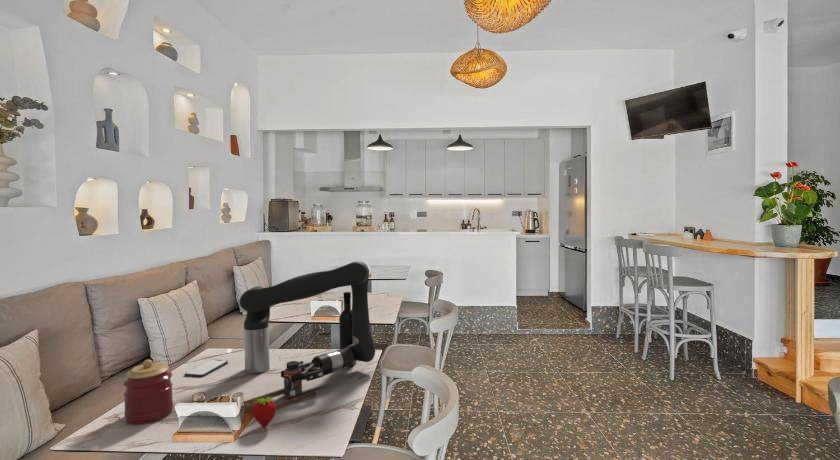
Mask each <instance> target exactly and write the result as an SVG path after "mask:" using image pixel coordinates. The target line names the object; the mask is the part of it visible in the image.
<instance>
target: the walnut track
mask: <svg viewBox="0 0 840 460" xmlns="http://www.w3.org/2000/svg"><path fill="white" fill-rule="evenodd" d="M281 394H284V387H283V388H280V389H277V390H274V391H271V392H267V393H265V394H263V395H259V396H255V397H252V398H250V399H247V400H245V401H242V402H243V403H244V406H243V408H245V409H247V410H248V411H250V412H251V410H252V406H253V404H254V403H255V402H257V400H256V399H261V398H264V399H265V400H266V398H268V397H271V398H273V397H275V396H278V395H281ZM265 395H266V397H265ZM315 396H317V391H316V390H312V391H310V392H306V393H303V394H301V395H300V396H298V397H295V398H289V399H288V400H284V401H282V402H280V403H277V404H276V403H275V404H276V408H277V409H276V411H277V410H279V409H282V408H284V407H288V406H291V405H292V404H296V403H298V402H301V401H303V400H306V399H309V398H312V397H315Z"/></svg>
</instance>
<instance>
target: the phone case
mask: <svg viewBox="0 0 840 460" xmlns="http://www.w3.org/2000/svg"><path fill="white" fill-rule="evenodd" d="M226 365H229V362H228V360H225V359H215V358H214V359H213V358H212V359H209V360H207V361H205V362H204V363H201V364H200V365H197V366H195V367H194V368H192V369H191V370H188V371H185V373H184V377H189V378H190V377H191V378H203V377H204V378H205V377H206V376H208V375H210V374H212V373H214V372H215V371H217V370H219V369H220V368H223V367H224V366H226Z"/></svg>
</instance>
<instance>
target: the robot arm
mask: <svg viewBox="0 0 840 460" xmlns="http://www.w3.org/2000/svg"><path fill="white" fill-rule="evenodd" d="M369 276H370V269H369V266H368V265H367V264H366V263H365V262H364V261H363V262H362V261H360V260H359V261H358V260H356V261H352V262H349V263H347V264H345V265H342V266H340V267H337V268H335V269H330V270H323V271H317V272H311V273H306V274H303V275H299V276H298V275H297V276H296V277H292V278H289V279H287V280H285V281H283V282H279V283H278V284H274V285H272V286H271V285H270V286H267V287H263V286H253V287H251V288H249V289H247V290H246V291H244V293H242V294H241V296H240V298H239V306H240V308H241V309H242V310H244V311H246V317H245V319H244V321H243V337H244V339H243V341H244V342H243V343H244V348H243V349H244V370H245V371H244V372H245V373H247V374H259V373H260V374H261V373H264V372H266V371H268V370H269V369H270V334H269V333H270V331H269V329H270V328H269V323H270V315H271V307H272V306H276V305H279V304H284V303H289V302H295V301H299V300H304V299H308V298H312V297H316V296H318V295H322V294H324V293H327V292H328V291H330V290H334V289H338V288H344V287H348V286H350V287H351V298H352V300H351V301H352V302H351V310H352V333H353V336H354V337H356V340H357V341H358V342H356V343H354V344H351V345H349V346H348V347H346V348H344V349H340V348H339V349H338V350H337V349H336V350H333V351H329V352H325V353H322V354H318V355H316V356H314V357H313V358H312V360H311V362H309V361H308V362H304V361H303V360H300V361H298V363H299V367H300V368H301V370H302V374H301V373H299V374H296V375H293V376H291V382H292V383H294V382H297V381H300V380H302V381H306V382H310V381H314V380H317V379H320V378H323V377H325V376H328V375H331V374H333V373H336V372H338V371H340V370H343V369H346V368H348V367H349V366H350V365H352V364H353V362H354V361H356V362H362V363H363V362H364V363H369V362H372V361H373V360H374V357H375V355H376V346H375V343H374V339H373V336H372V333H371V325H370V313H369V301H368V300H369V299H368V291H369V290H368V289H369V286H368V285H369V278H370V277H369ZM349 368H350V367H349ZM284 370H285V369H284ZM284 370H282V371H280V377H281V378H282V379H284Z"/></svg>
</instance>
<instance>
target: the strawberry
mask: <svg viewBox="0 0 840 460" xmlns="http://www.w3.org/2000/svg"><path fill="white" fill-rule="evenodd" d="M264 395H265V394H264ZM265 397H266V395H265ZM271 398H272V397H268V398H266V399H264V398H261V399H256V400H257V402H255V403H253V404H252V410H251V411H252V412H251V411H250V412H251V413H252V416H253V418H254V420H255V421H256V422H257V423H258V424H259V425H260V426H261V427H262V428H267V426H268V425H269V424H270V423H271V422H272V420H273V419H274V417H275V415H276V414H277V413H276V411H277V410H278V409H277V408H276V403H275V402H274V399H271ZM276 409H277V410H276Z"/></svg>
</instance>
